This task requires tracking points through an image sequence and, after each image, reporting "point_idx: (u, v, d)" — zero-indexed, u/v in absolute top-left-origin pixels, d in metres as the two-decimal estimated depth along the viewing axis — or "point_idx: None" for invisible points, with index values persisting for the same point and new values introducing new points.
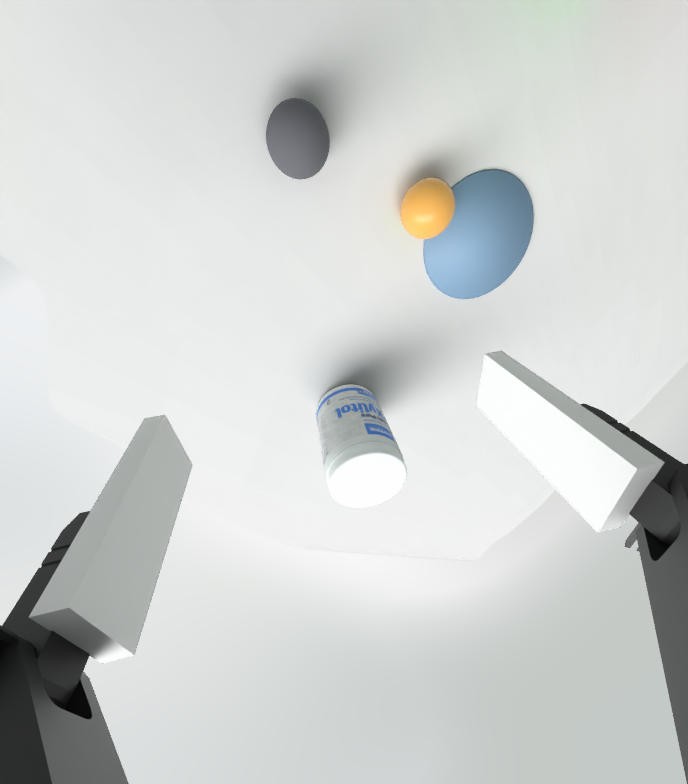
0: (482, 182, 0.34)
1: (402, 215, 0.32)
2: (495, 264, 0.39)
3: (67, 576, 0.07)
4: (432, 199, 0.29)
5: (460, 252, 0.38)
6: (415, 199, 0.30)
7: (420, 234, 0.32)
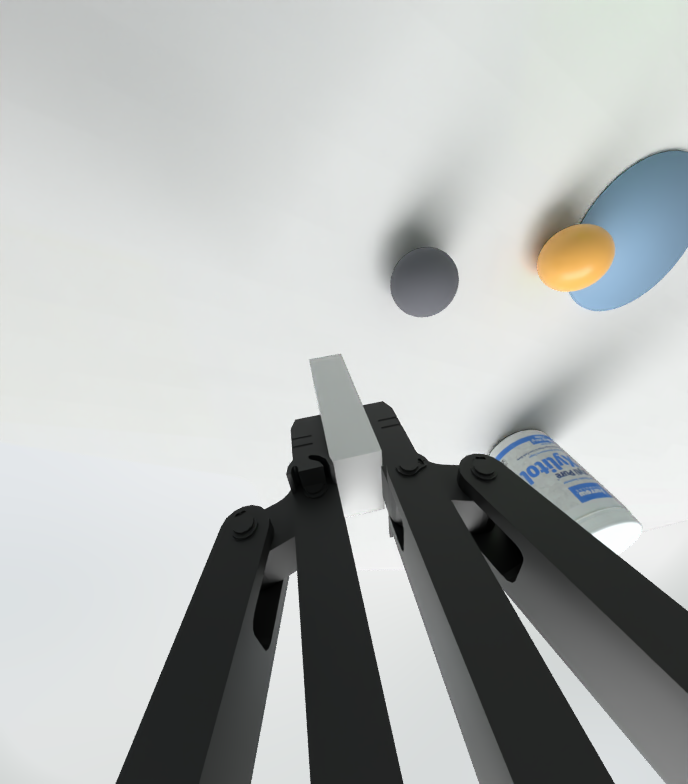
0: (627, 182, 0.27)
1: (546, 280, 0.28)
2: (662, 250, 0.31)
3: (339, 442, 0.09)
4: (590, 258, 0.25)
5: (613, 264, 0.31)
6: (565, 265, 0.26)
7: (576, 290, 0.27)
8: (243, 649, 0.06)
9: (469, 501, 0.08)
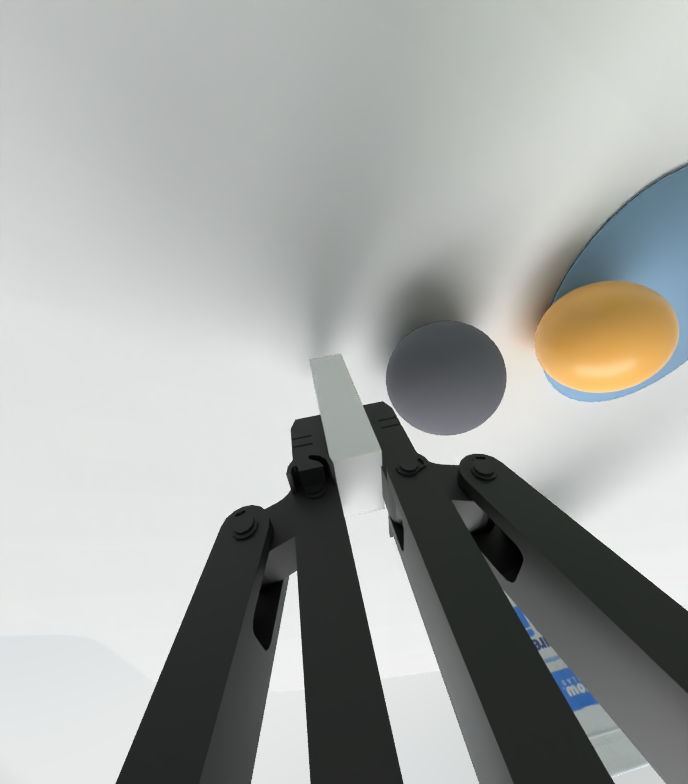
0: (645, 213, 0.15)
1: (601, 387, 0.15)
2: None
3: (339, 442, 0.09)
4: None
5: None
6: (656, 361, 0.13)
7: None
8: (243, 649, 0.06)
9: (470, 502, 0.08)
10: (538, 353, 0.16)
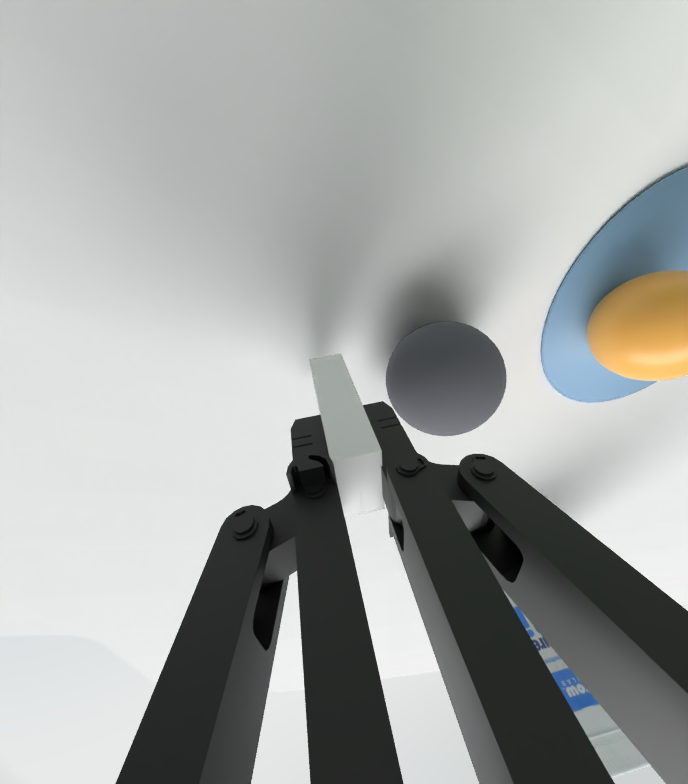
0: (645, 214, 0.15)
1: None
2: None
3: (339, 442, 0.09)
4: None
5: None
6: None
7: None
8: (243, 649, 0.06)
9: (470, 501, 0.08)
10: (661, 363, 0.14)
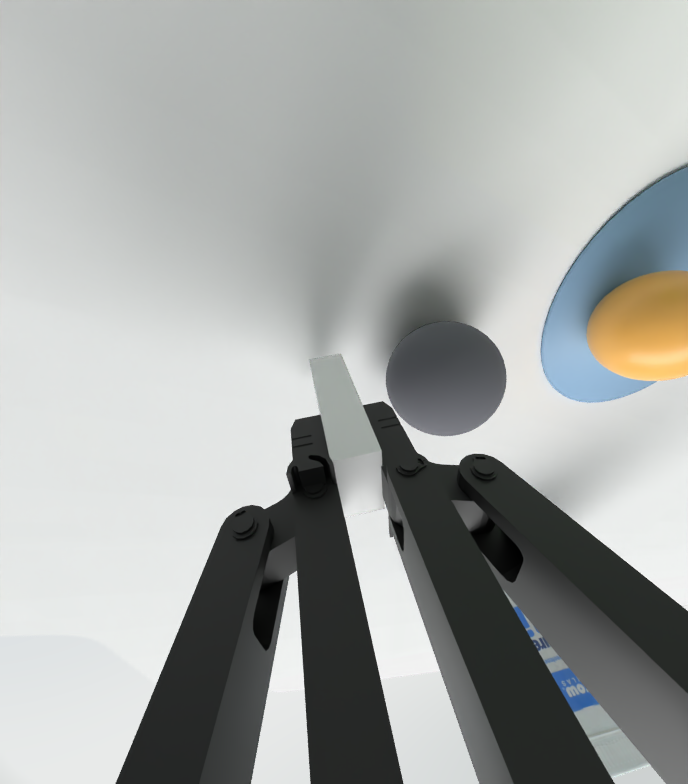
0: (645, 214, 0.15)
1: None
2: None
3: (339, 442, 0.09)
4: None
5: None
6: None
7: None
8: (243, 649, 0.06)
9: (470, 501, 0.08)
10: (661, 363, 0.14)
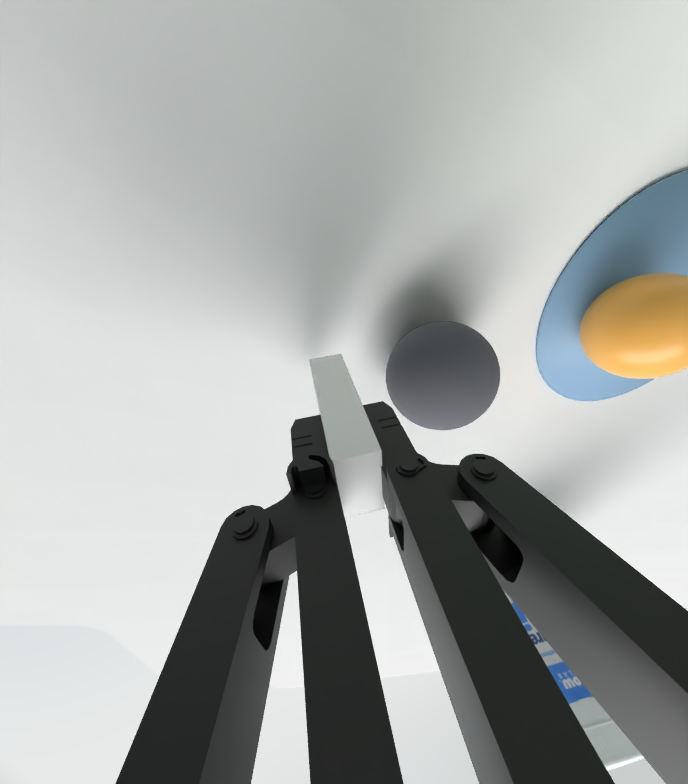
0: (633, 219, 0.16)
1: None
2: None
3: (339, 442, 0.09)
4: None
5: None
6: None
7: None
8: (243, 649, 0.06)
9: (470, 501, 0.08)
10: (648, 361, 0.15)
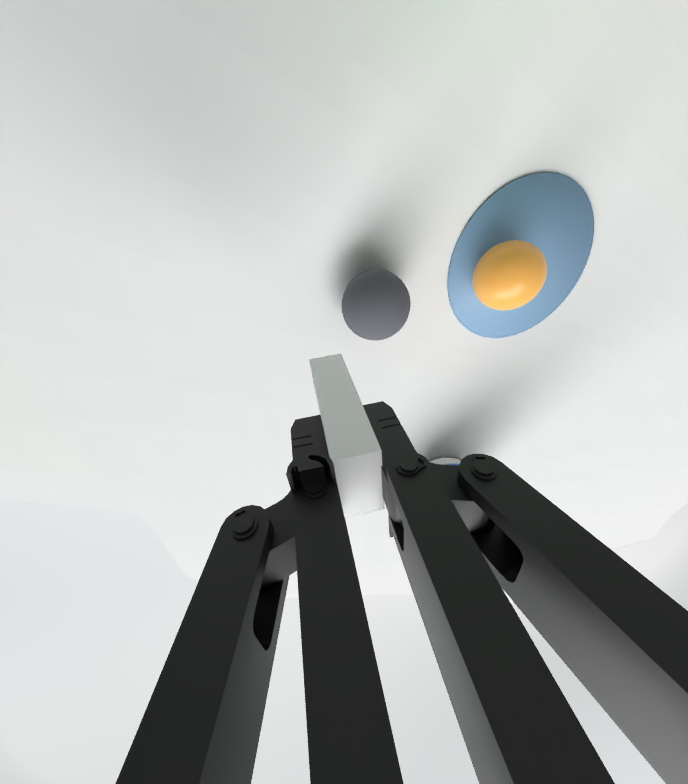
0: (498, 206, 0.25)
1: None
2: (554, 275, 0.29)
3: (339, 442, 0.09)
4: None
5: None
6: None
7: None
8: (243, 649, 0.06)
9: (470, 501, 0.08)
10: (502, 294, 0.24)
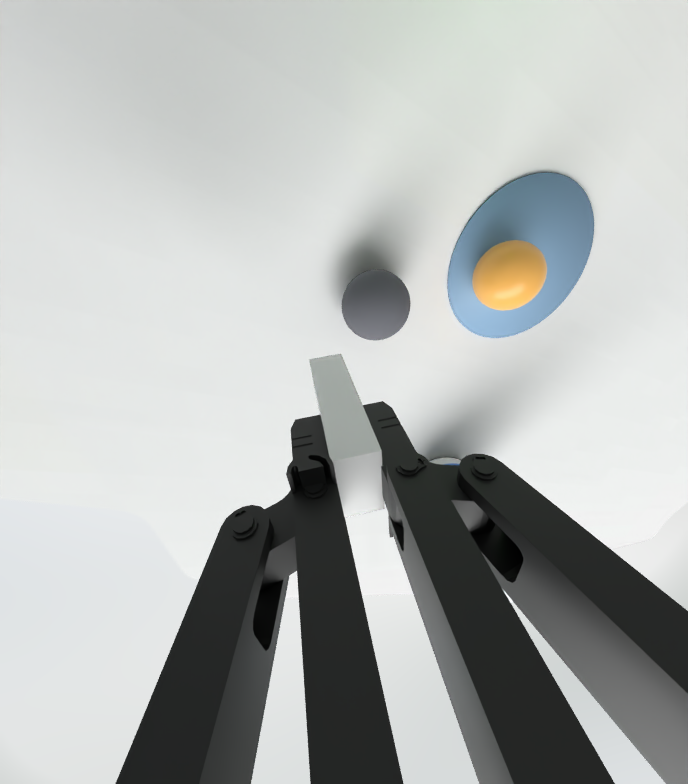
0: (498, 206, 0.25)
1: None
2: (554, 275, 0.29)
3: (339, 442, 0.09)
4: None
5: None
6: None
7: None
8: (243, 649, 0.06)
9: (470, 501, 0.08)
10: (502, 294, 0.24)
